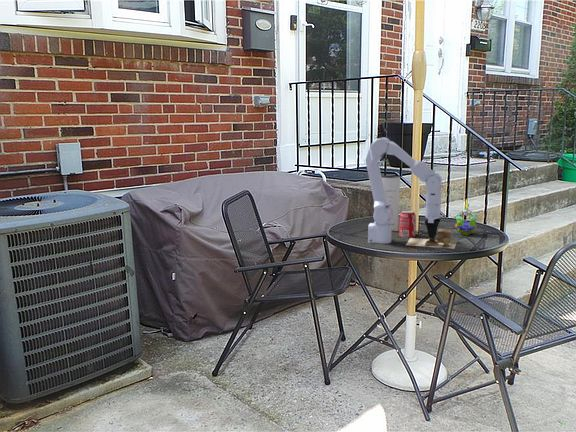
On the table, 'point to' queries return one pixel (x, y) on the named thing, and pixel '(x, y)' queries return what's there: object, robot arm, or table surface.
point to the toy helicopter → (466, 226)
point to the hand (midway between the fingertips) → (432, 237)
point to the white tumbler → (392, 197)
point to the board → (431, 243)
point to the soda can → (407, 223)
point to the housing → (443, 235)
